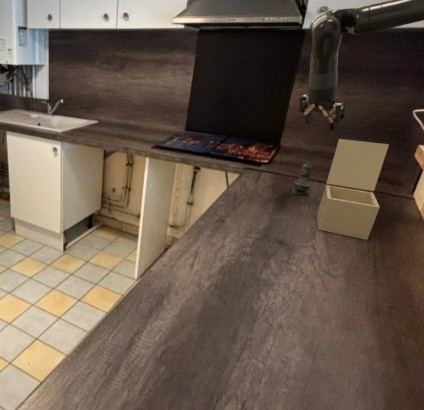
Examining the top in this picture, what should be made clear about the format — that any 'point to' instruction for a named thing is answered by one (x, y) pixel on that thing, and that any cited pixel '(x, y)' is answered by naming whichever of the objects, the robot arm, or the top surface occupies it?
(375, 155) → the lid
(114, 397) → the top surface
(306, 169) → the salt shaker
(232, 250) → the top surface
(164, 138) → the top surface
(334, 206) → the tan open box
